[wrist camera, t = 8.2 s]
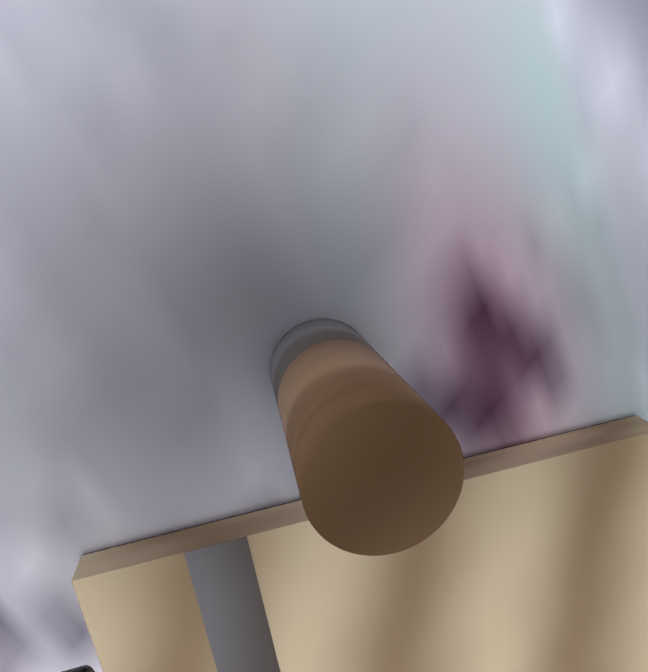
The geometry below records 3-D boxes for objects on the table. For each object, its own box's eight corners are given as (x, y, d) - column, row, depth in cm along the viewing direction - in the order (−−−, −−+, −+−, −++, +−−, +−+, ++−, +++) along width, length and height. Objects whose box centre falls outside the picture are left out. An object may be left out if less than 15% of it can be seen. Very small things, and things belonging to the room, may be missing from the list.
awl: (389, 347, 17) (494, 443, 10) (340, 432, 18) (411, 578, 11) (301, 301, 16) (353, 371, 10) (252, 391, 17) (269, 519, 10)
